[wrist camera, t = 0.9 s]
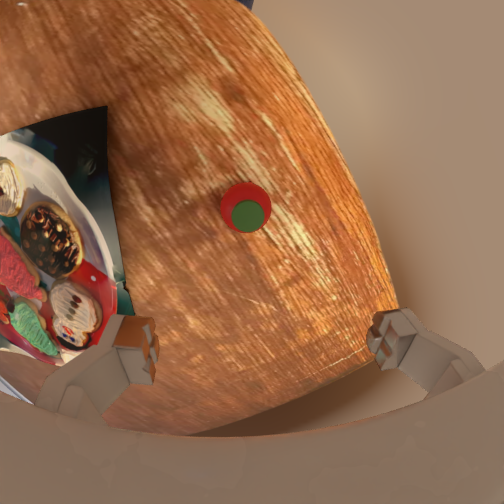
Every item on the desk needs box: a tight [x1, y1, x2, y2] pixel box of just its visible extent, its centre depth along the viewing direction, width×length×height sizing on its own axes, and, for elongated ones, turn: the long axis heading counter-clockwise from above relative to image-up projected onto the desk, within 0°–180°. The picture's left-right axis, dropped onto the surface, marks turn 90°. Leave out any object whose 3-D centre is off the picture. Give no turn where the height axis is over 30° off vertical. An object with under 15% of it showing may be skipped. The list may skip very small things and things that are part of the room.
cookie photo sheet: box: [0, 106, 135, 366], centre depth 25 cm, size 35×35×2 cm
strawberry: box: [220, 181, 271, 233], centre depth 23 cm, size 4×4×5 cm
